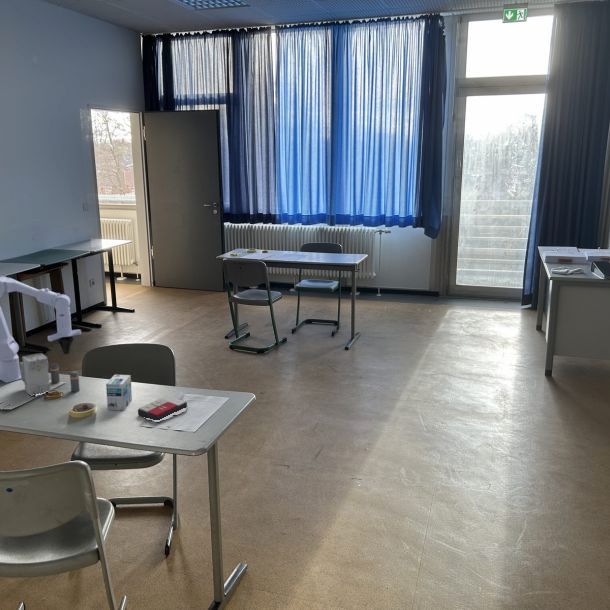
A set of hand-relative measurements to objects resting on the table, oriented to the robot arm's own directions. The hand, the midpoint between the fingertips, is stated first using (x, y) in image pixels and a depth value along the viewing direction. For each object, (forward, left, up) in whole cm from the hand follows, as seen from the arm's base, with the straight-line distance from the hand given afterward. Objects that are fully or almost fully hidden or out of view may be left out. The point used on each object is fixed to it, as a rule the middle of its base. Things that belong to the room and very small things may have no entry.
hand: (66, 353), depth 262 cm
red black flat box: (+62, +2, -11) cm, 63 cm away
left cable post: (+3, -7, -10) cm, 13 cm away
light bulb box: (+44, -4, -11) cm, 45 cm away
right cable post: (+18, -7, -10) cm, 22 cm away
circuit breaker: (+5, -17, -11) cm, 21 cm away
